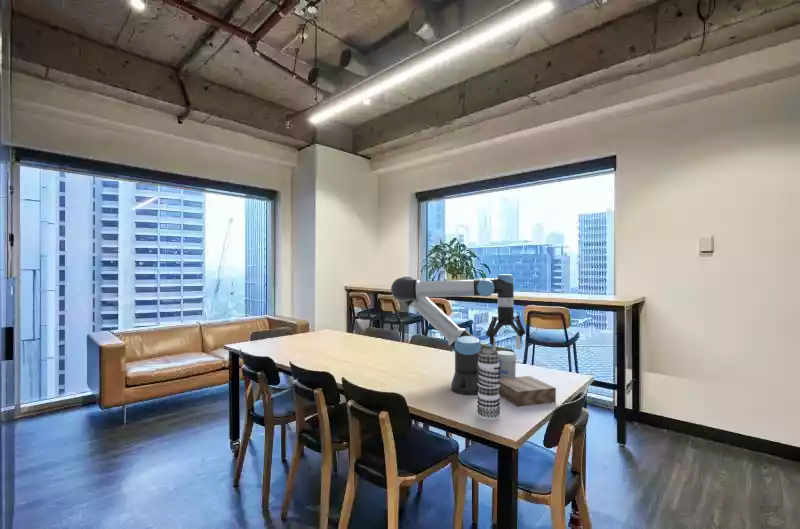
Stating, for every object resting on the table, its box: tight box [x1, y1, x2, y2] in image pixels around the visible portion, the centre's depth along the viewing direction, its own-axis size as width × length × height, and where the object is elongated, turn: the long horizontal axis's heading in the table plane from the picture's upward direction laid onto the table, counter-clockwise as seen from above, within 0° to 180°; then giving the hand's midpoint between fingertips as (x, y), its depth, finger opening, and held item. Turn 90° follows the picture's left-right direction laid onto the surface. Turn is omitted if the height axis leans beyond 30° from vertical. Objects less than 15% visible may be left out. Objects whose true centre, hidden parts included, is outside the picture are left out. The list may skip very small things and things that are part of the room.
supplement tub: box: [496, 350, 517, 379], centre depth 186 cm, size 10×10×15 cm
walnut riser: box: [498, 375, 557, 408], centre depth 166 cm, size 18×18×6 cm
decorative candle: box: [476, 348, 501, 421], centre depth 145 cm, size 9×9×25 cm
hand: (505, 349), depth 186 cm, fingers open, 13 cm apart
